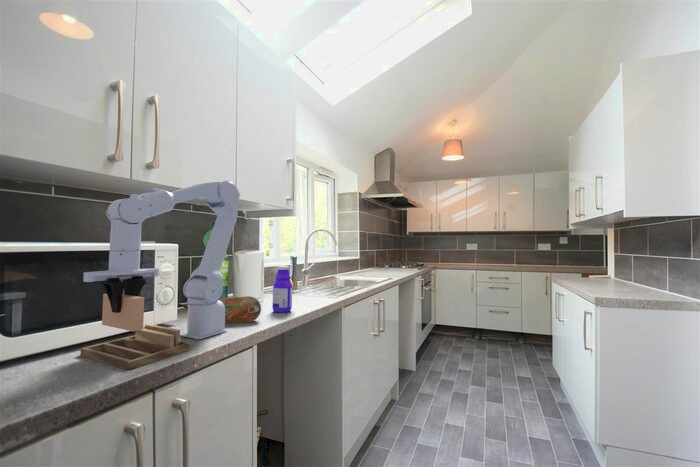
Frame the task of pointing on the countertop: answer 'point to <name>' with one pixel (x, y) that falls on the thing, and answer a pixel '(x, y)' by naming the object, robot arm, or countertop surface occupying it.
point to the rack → (131, 352)
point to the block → (124, 313)
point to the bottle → (282, 291)
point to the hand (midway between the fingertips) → (122, 311)
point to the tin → (241, 309)
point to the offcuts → (159, 335)
